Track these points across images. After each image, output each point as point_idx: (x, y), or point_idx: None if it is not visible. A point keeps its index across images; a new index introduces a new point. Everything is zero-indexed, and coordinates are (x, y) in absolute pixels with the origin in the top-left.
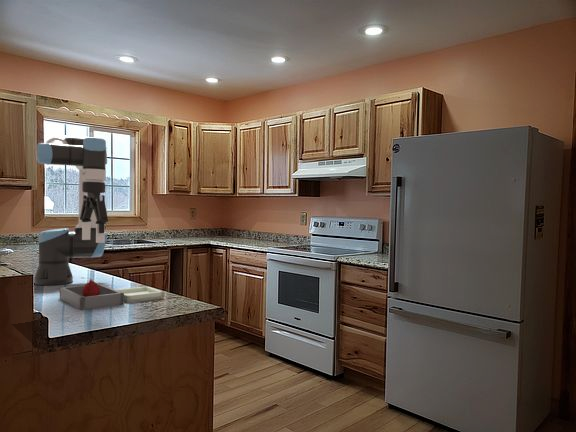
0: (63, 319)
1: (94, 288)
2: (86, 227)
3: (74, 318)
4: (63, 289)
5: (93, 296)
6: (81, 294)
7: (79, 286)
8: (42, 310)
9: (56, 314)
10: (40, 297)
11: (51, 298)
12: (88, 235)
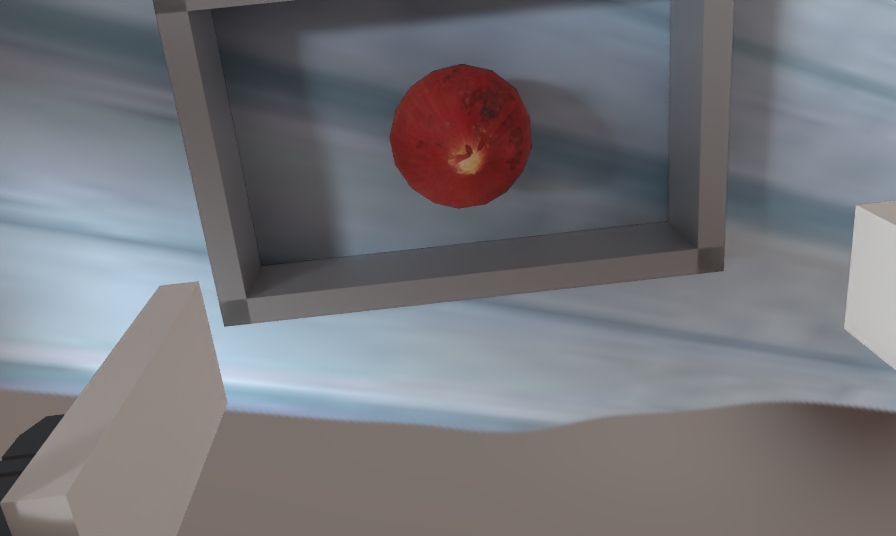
0: (852, 360)
1: (528, 132)
2: (144, 490)
3: None
4: (318, 315)
5: (725, 184)
6: (232, 147)
7: (222, 182)
8: (564, 422)
9: (713, 373)
10: None
11: None
12: (189, 351)
